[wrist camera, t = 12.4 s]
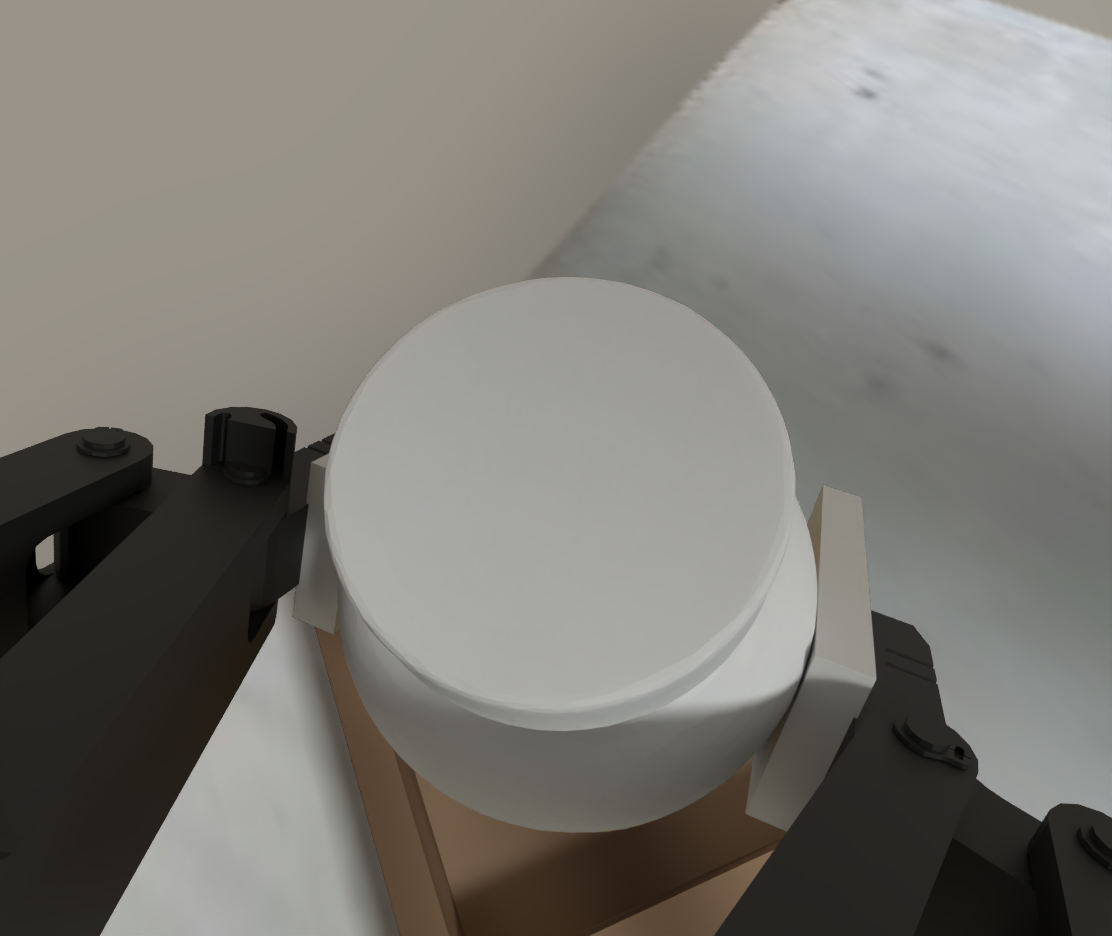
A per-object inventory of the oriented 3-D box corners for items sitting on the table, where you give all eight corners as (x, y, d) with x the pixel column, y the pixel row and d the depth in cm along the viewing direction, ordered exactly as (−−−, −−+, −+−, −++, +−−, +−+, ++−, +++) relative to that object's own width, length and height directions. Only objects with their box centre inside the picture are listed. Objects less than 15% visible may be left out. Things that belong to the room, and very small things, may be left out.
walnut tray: (692, 433, 24) (700, 397, 22) (908, 827, 20) (944, 826, 17) (324, 581, 23) (295, 557, 21) (456, 1041, 18) (436, 1068, 16)
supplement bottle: (477, 542, 21) (309, 186, 9) (729, 562, 20) (884, 205, 9) (436, 814, 18) (127, 787, 7) (725, 847, 18) (944, 882, 6)
